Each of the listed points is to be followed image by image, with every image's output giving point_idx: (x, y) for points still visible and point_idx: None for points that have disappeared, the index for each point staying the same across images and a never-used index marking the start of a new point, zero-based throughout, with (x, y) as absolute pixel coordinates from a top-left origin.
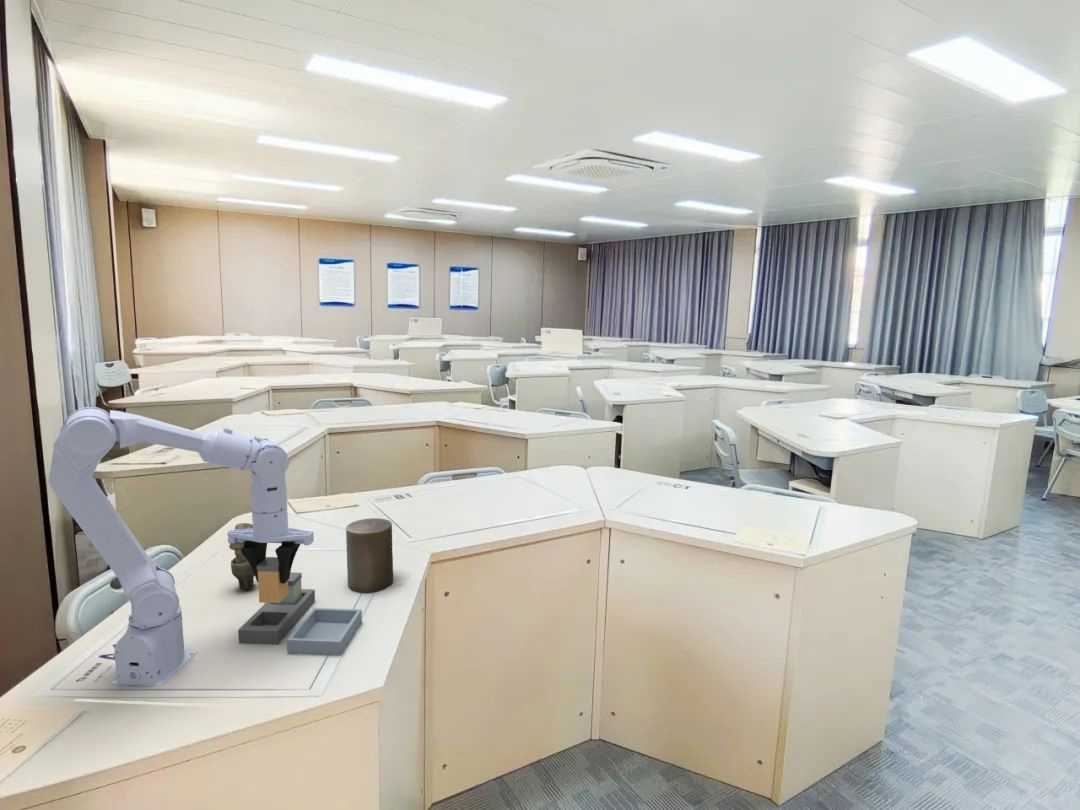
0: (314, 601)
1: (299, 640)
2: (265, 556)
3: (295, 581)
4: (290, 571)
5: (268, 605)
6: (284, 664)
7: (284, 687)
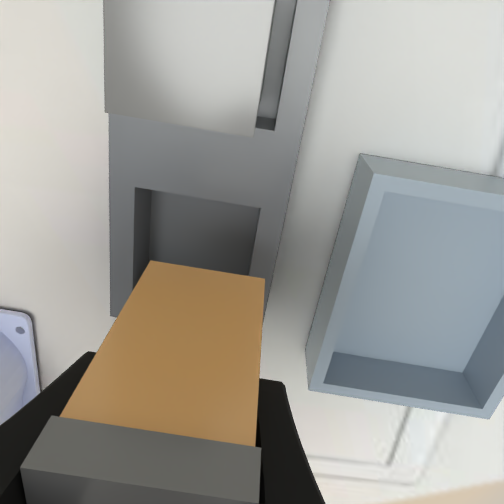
0: None
1: (351, 396)
2: (6, 493)
3: (260, 94)
4: (293, 421)
5: (136, 124)
6: (305, 381)
7: (328, 454)
